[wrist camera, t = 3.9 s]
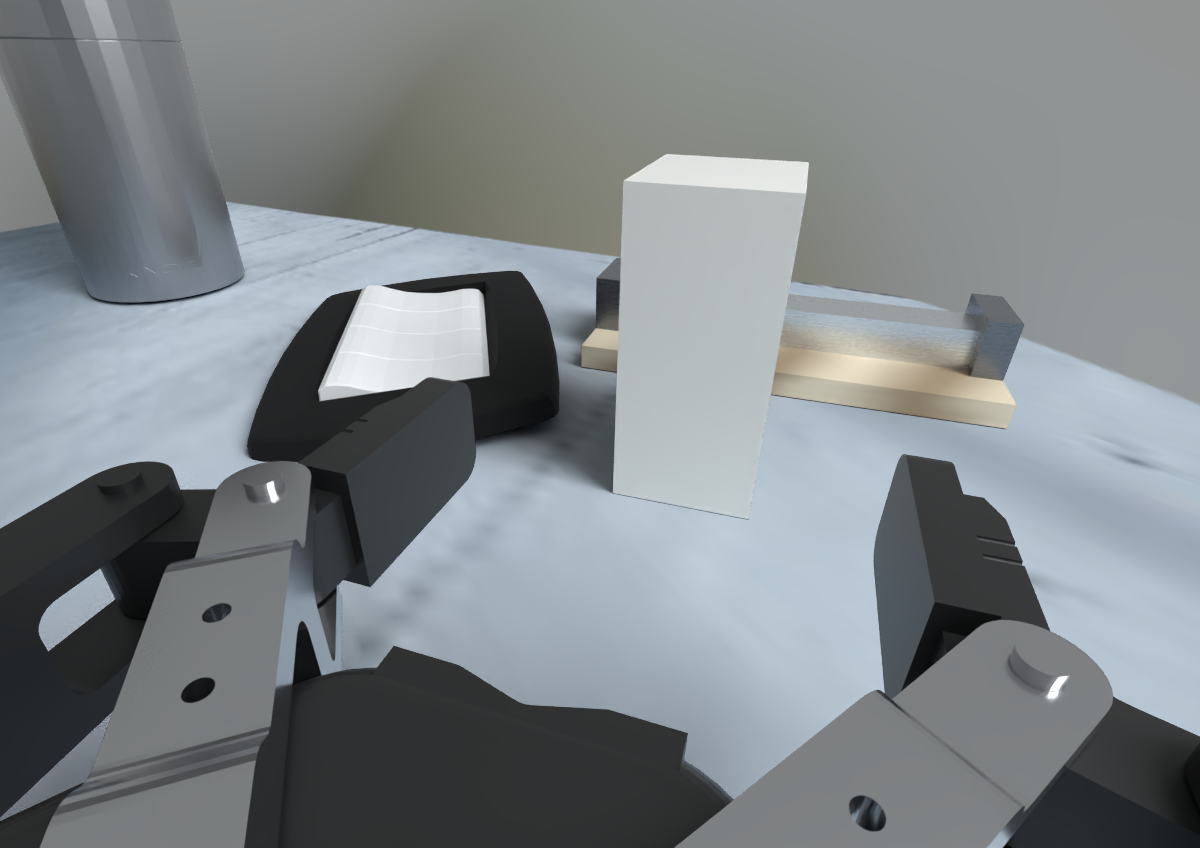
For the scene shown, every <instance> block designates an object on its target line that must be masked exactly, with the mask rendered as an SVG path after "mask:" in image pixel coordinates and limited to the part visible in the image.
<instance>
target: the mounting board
mask: <svg viewBox="0 0 1200 848" xmlns="http://www.w3.org/2000/svg"><path fill="white" fill-rule="evenodd" d="M617 359H618V331H613V330H605V329H598V328H596V329H595V330H594V331H593V332H592V334H591V335H590V336H589V337H588V338H587V340H586V341H585V342H584V343H583V344H582V367H587V368H593V369H600V370H607V371H614V372H617ZM771 394H772V395H779V396H786V397H793V398H799V399H806V400H813V401H820V402H827V403H834V404H841V405H847V406H854V407H861V408H868V409H875V410H882V411H889V412H896V413H902V414H909V415H916V416H923V417H930V418H937V419H944V420H950V421H957V422H964V423H971V424H978V425H985V426H992V427H999V428H1005V429H1008V426H1009V424H1010V421H1011V419H1012V416H1013V414H1014V411H1015V409H1016V406H1017V404H1016V403H1015V401H1014V399H1013V397H1012V396H1011V394H1010V392H1009V391H1008V389H1007V387H1006V385H1005V384H1004V382H1003V381H1000V380H992V379H984V378H977V377H970V375H969V373H968V371H967V370H962V369H954V368H946V367H938V366H930V365H922V364H914V363H907V362H899V361H891V360H883V359H875V358H867V357H859V356H851V355H844V354H836V353H828V352H820V351H812V350H804V349H796V348H789V347H781V346H779V350H778V356H777V362H776V368H775V373H774V379H773V385H772V390H771Z"/></svg>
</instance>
